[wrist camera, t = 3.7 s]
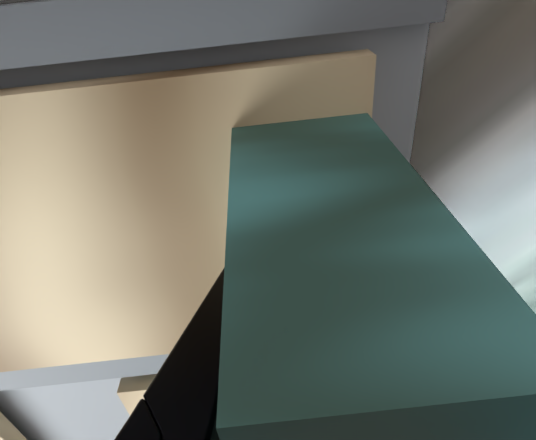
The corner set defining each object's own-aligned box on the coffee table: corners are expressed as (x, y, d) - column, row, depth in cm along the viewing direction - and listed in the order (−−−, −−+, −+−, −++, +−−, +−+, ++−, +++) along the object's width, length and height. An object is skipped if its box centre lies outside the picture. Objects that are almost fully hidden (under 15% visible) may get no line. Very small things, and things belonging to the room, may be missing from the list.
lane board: (434, -43, 7) (492, -44, 5) (366, 455, 19) (378, 501, 18) (-863, 99, 7) (-1191, 140, 6) (-117, 507, 19) (-150, 558, 18)
